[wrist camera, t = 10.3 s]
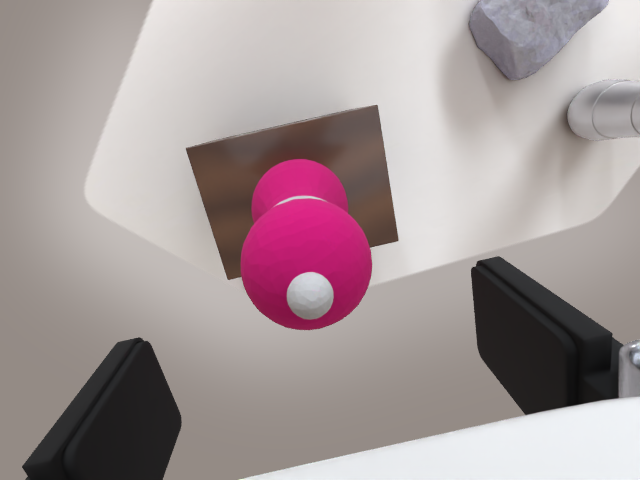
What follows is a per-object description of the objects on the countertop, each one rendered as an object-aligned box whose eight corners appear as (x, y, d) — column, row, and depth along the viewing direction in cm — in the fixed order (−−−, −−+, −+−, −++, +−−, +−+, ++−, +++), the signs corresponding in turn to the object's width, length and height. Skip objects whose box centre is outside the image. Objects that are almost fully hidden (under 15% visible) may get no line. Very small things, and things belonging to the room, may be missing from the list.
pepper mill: (280, 250, 34) (268, 418, 15) (241, 177, 31) (166, 264, 12) (353, 215, 33) (438, 343, 14) (318, 139, 31) (364, 170, 12)
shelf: (214, 140, 42) (185, 148, 30) (353, 108, 42) (377, 104, 31) (243, 239, 46) (227, 280, 34) (371, 210, 46) (398, 241, 34)
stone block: (451, 26, 42) (512, 91, 43) (466, 5, 37) (534, 79, 38) (534, -60, 40) (596, 9, 41) (561, -93, 36) (630, -15, 36)
